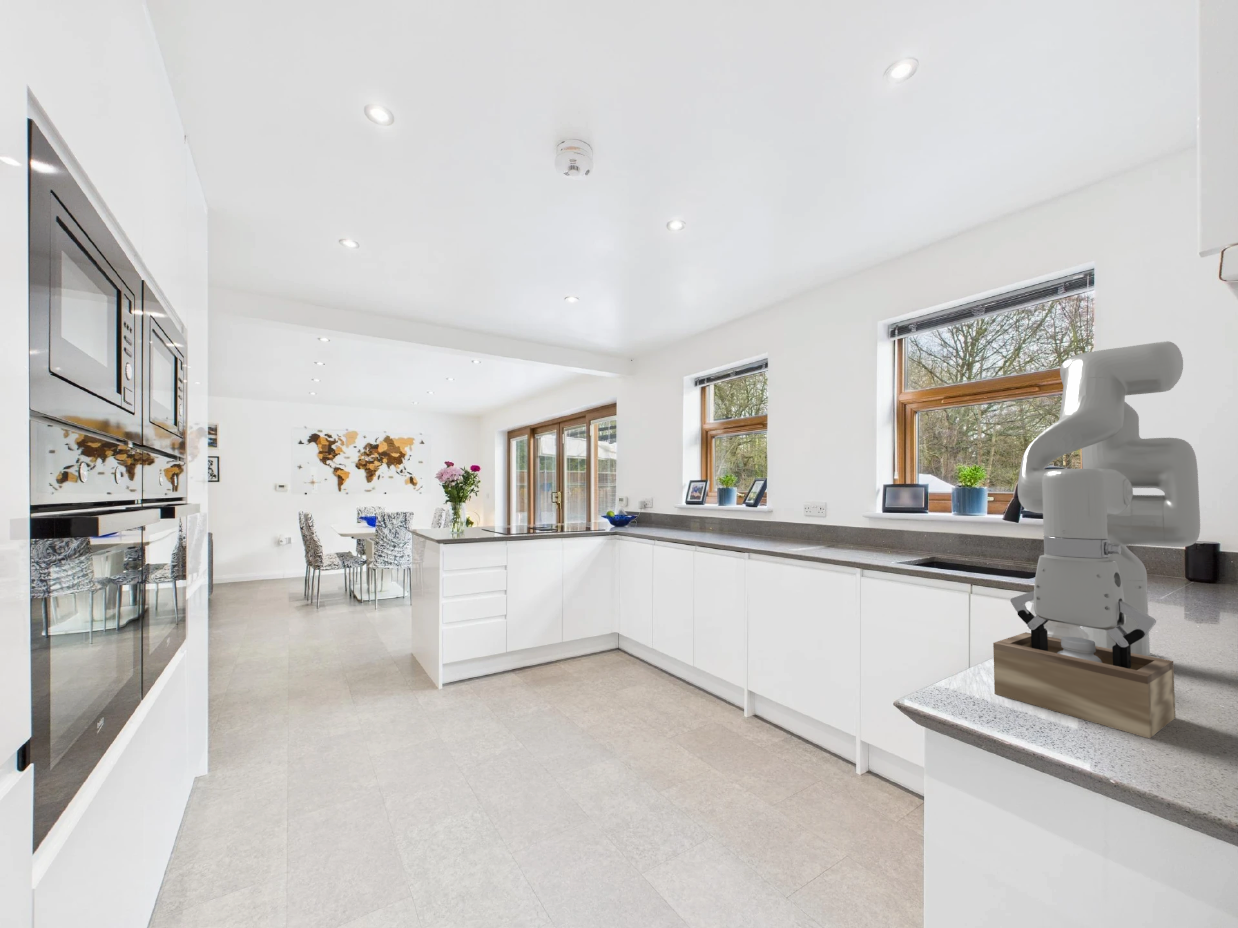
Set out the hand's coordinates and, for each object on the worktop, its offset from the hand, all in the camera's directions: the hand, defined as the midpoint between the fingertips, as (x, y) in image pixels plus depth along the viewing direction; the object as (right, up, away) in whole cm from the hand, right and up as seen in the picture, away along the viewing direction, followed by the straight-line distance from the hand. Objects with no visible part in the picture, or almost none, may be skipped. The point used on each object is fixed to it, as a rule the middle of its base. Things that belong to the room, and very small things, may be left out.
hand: (1078, 663), depth 81 cm
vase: (+9, -7, +15) cm, 19 cm away
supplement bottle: (0, -6, 0) cm, 6 cm away
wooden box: (0, -6, 0) cm, 6 cm away
